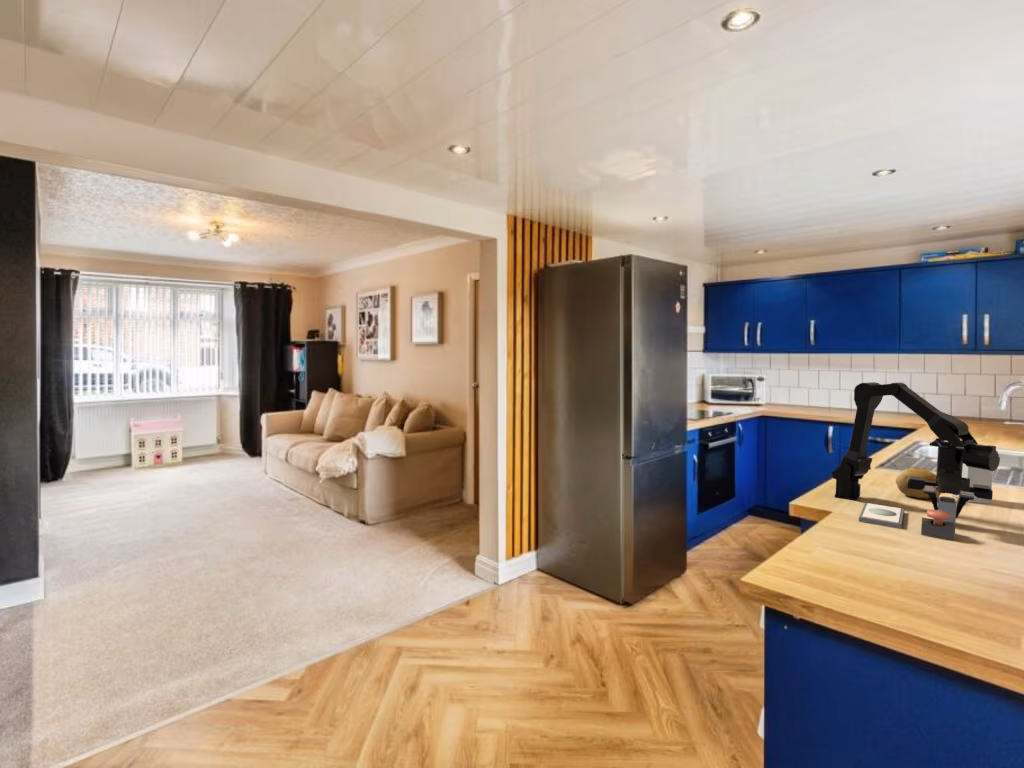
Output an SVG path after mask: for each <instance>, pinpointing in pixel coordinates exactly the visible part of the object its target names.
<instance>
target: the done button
mask: <svg viewBox="0 0 1024 768" xmlns="http://www.w3.org/2000/svg"><path fill="white" fill-rule="evenodd" d="M926 516H927V518H928V517H929V518H930V519H934V521H933V524H936V525H942V526H943V520H950V516H951V514H950V513H948V512H944V511H940V510H934V509H927V510H926Z"/></svg>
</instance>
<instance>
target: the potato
mask: <svg viewBox="0 0 1024 768" xmlns="http://www.w3.org/2000/svg"><path fill="white" fill-rule="evenodd" d="M930 471H931V470H927V469H925V468H921V467H910V468H906V469H904V470H902V472H900V473H899V474H898V475H897V476H896V477H895V484H896V486H897V489H898V490H899V491H900V493H902V494H903V495H905V496H907V497H910V498H916V499H917V498H918V499H924V500H925V499H926V500H927V499H928V500H929V499H930V497H929V495H928V494H926V493H923V489H922V490H916V489H909V488H907V487H908V478H909V477H910V476H914V477H922V478H925V481H930V482H936V474H933V473H932V472H930ZM941 494H942V493H940V492H938V489H936V495H937V499H938V498H940V497H941Z"/></svg>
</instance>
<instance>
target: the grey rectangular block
mask: <svg viewBox="0 0 1024 768" xmlns="http://www.w3.org/2000/svg"><path fill="white" fill-rule="evenodd" d="M957 503H958V501H957V500H956V499H955V498H954V497H951V496H946V495H945V496H944V495H943V496H941V495H940V496H939V498H937V504H938V510H940V511H944V512H948V513H950V514H951V516H950V520H943V521H947V522H954V524H955V525H956V519H957V518H956V507H957Z"/></svg>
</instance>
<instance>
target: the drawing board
mask: <svg viewBox="0 0 1024 768" xmlns="http://www.w3.org/2000/svg"><path fill="white" fill-rule="evenodd" d="M904 515H905V509H904V508H903V507H902V508H900V507H894V506H888V505H883V504H882V505H880V504H876V503H869V502H865V503H864V504H863V507H862V509H861V512H860V514H859V516H858V522H862V523H867V524H871V525H879V526H885V527H889V528H895V529H896V528H897V529H902V525H903V520H904Z"/></svg>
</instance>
